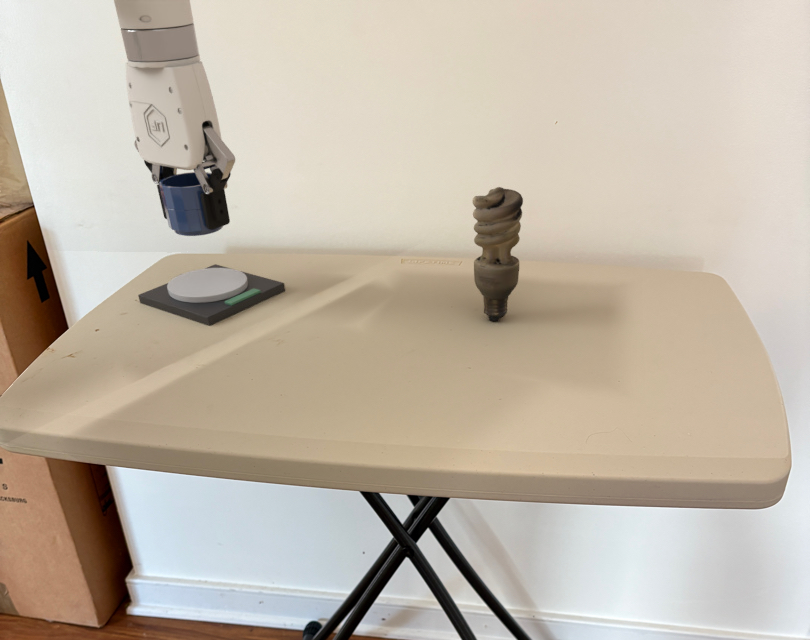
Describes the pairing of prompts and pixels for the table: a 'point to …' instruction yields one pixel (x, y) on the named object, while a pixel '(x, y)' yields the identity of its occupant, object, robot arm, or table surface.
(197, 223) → the cup
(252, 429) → the table surface
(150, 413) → the table surface
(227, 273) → the scale
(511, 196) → the light bulb
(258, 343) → the table surface
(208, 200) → the robot arm
